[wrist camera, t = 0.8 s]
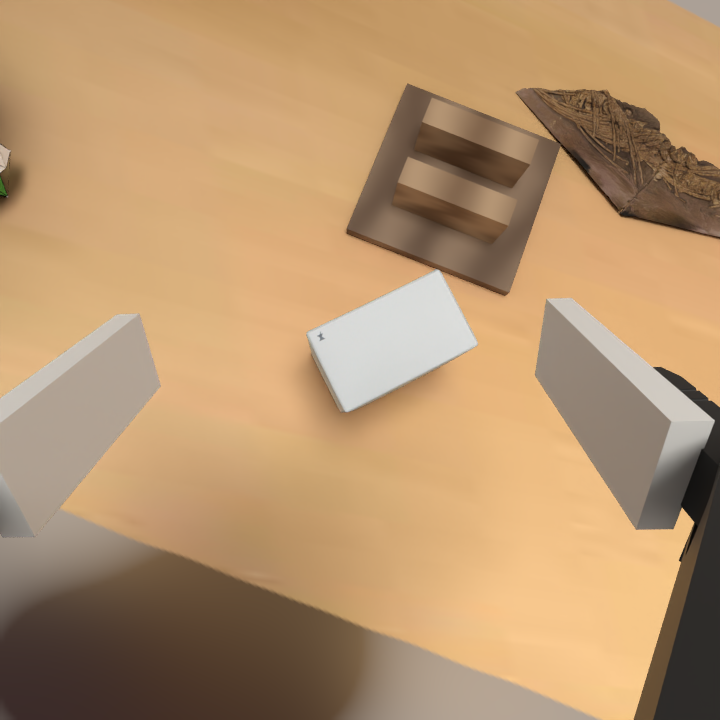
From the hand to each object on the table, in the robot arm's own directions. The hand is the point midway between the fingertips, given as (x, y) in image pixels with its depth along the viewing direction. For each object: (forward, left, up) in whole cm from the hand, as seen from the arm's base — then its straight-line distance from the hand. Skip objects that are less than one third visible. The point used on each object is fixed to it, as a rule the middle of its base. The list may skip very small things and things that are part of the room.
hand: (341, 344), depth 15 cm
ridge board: (+3, +22, -25) cm, 34 cm away
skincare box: (+2, +4, -26) cm, 26 cm away
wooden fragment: (+18, +32, -26) cm, 45 cm away
